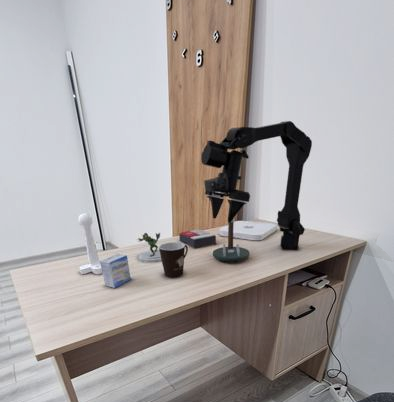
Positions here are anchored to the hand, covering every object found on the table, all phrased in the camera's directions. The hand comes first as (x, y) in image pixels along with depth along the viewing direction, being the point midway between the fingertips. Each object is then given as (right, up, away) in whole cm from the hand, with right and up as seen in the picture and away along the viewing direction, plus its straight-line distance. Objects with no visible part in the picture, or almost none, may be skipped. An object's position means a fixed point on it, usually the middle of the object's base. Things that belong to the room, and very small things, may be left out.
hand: (221, 220), depth 104 cm
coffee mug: (-15, -19, 0) cm, 24 cm away
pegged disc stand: (+5, -10, +11) cm, 15 cm away
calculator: (-8, 0, +31) cm, 33 cm away
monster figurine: (-26, -10, +16) cm, 32 cm away
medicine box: (-35, -23, -5) cm, 42 cm away
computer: (+16, +7, +42) cm, 45 cm away
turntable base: (+5, -11, +11) cm, 17 cm away
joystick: (-45, -17, +5) cm, 48 cm away
